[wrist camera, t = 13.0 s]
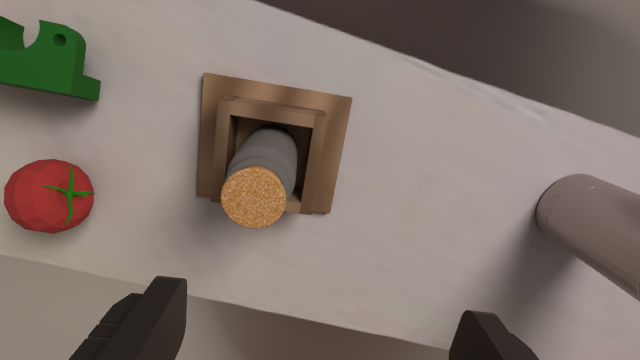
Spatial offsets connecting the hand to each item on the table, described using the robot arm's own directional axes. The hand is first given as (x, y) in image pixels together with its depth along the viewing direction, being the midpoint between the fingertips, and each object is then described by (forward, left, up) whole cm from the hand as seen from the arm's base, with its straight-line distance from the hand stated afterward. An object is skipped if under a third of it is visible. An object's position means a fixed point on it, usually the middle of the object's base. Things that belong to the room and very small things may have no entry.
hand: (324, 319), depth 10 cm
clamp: (+28, -3, -31) cm, 42 cm away
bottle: (+4, +3, -30) cm, 30 cm away
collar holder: (+4, +3, -31) cm, 31 cm away
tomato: (+26, +11, -31) cm, 42 cm away
